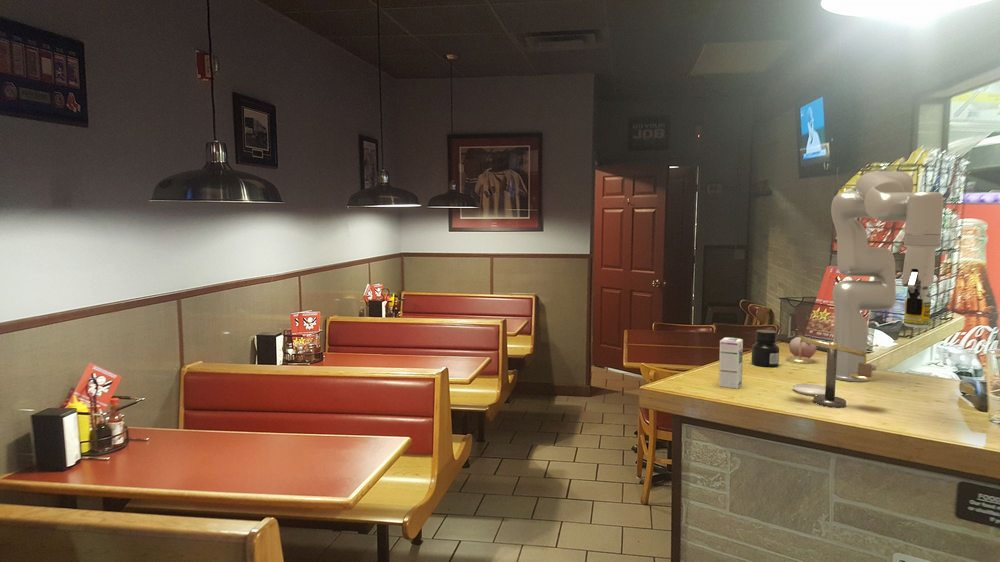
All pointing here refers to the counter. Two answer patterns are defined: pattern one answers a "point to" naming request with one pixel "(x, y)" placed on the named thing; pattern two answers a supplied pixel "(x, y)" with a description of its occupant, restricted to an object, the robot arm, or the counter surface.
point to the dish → (809, 389)
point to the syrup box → (730, 362)
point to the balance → (834, 370)
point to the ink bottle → (765, 349)
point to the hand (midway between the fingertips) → (917, 312)
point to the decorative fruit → (802, 348)
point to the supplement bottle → (922, 319)
